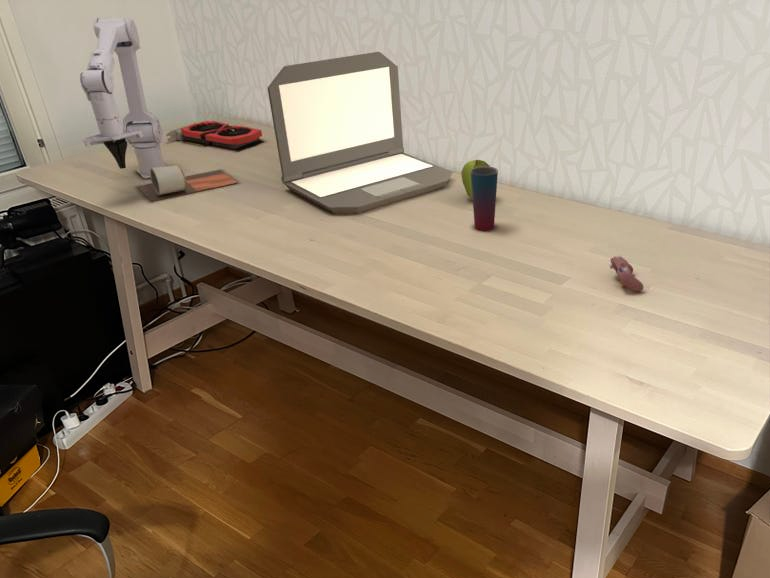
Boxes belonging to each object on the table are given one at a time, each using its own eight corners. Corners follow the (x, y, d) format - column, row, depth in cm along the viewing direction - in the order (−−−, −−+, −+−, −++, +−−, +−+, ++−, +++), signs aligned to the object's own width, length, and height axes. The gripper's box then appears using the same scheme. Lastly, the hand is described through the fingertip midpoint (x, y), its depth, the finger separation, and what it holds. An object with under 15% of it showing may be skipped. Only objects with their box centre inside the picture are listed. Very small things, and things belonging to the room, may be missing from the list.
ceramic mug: (190, 192, 202) (183, 166, 198) (161, 198, 198) (154, 171, 193) (178, 183, 209) (171, 157, 205) (150, 189, 205) (143, 163, 200)
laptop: (340, 221, 184) (323, 88, 165) (283, 190, 203) (262, 69, 185) (463, 183, 207) (461, 64, 189) (402, 159, 227) (394, 49, 208)
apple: (465, 193, 200) (465, 154, 194) (494, 195, 199) (494, 155, 192) (458, 204, 193) (457, 163, 187) (488, 206, 192) (488, 165, 185)
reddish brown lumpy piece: (615, 279, 158) (604, 255, 154) (633, 270, 157) (622, 245, 153) (626, 300, 150) (614, 275, 146) (645, 291, 149) (635, 265, 145)
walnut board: (137, 187, 207) (137, 186, 206) (220, 170, 219) (220, 169, 219) (151, 201, 196) (151, 200, 196) (237, 183, 209) (237, 182, 209)
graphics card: (223, 156, 231) (221, 144, 229) (163, 141, 245) (161, 130, 243) (268, 141, 245) (266, 130, 242) (209, 128, 259) (206, 117, 257)
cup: (500, 224, 181) (501, 167, 173) (492, 233, 176) (493, 176, 168) (476, 220, 183) (475, 165, 175) (467, 230, 178) (466, 173, 170)
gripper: (81, 125, 179) (97, 176, 186) (139, 116, 186) (153, 166, 194) (75, 119, 184) (92, 169, 191) (133, 110, 191) (146, 159, 198)
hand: (122, 167), depth 193 cm, fingers closed
